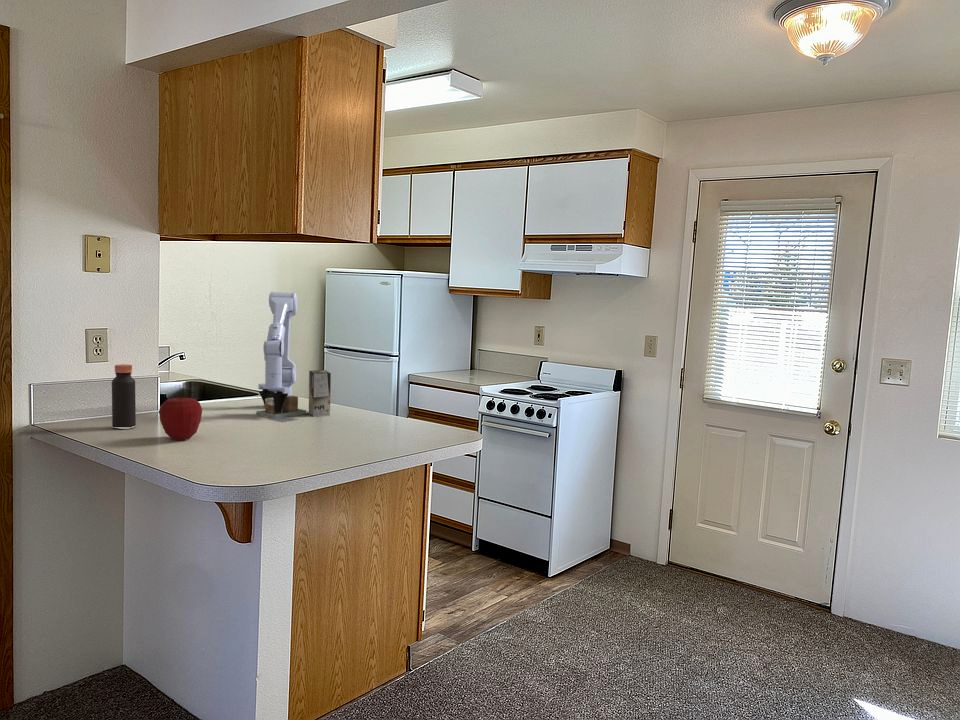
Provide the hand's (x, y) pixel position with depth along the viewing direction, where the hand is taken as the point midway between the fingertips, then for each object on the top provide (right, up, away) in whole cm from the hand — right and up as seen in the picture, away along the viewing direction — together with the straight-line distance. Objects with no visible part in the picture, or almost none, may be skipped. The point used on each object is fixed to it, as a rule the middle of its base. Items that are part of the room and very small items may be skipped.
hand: (273, 411), depth 262 cm
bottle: (-40, -3, -28) cm, 49 cm away
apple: (-16, -6, -42) cm, 45 cm away
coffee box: (+15, -2, +6) cm, 16 cm away
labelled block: (0, -1, 0) cm, 1 cm away
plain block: (+4, -1, +6) cm, 8 cm away
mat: (+6, -3, -7) cm, 10 cm away
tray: (+2, -2, +3) cm, 4 cm away
